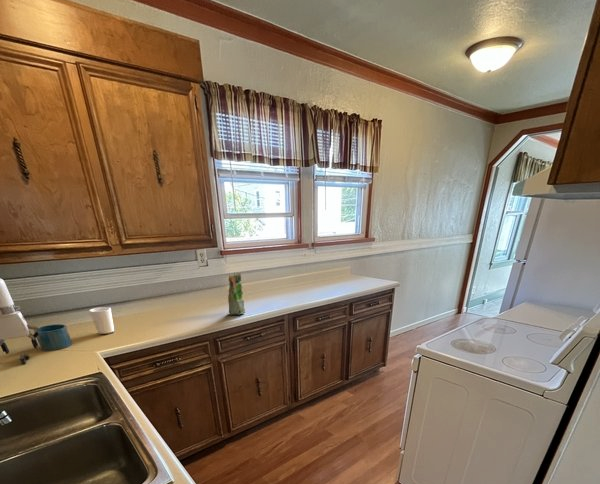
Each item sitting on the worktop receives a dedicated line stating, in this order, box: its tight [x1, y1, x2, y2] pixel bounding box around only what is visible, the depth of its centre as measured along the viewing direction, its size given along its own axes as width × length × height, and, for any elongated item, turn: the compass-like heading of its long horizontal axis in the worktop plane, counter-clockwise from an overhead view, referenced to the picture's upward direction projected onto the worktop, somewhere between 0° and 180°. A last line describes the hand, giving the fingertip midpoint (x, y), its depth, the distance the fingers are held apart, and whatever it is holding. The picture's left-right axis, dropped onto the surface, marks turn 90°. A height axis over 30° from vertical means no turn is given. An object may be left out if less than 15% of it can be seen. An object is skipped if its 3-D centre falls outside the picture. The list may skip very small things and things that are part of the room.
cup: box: [88, 306, 115, 336], centre depth 171 cm, size 10×10×13 cm
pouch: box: [227, 272, 246, 316], centre depth 202 cm, size 11×12×25 cm
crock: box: [33, 323, 73, 352], centre depth 154 cm, size 12×12×9 cm
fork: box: [19, 353, 31, 366], centre depth 139 cm, size 10×3×3 cm, turn 32°
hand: (22, 350), depth 138 cm, fingers open, 9 cm apart
